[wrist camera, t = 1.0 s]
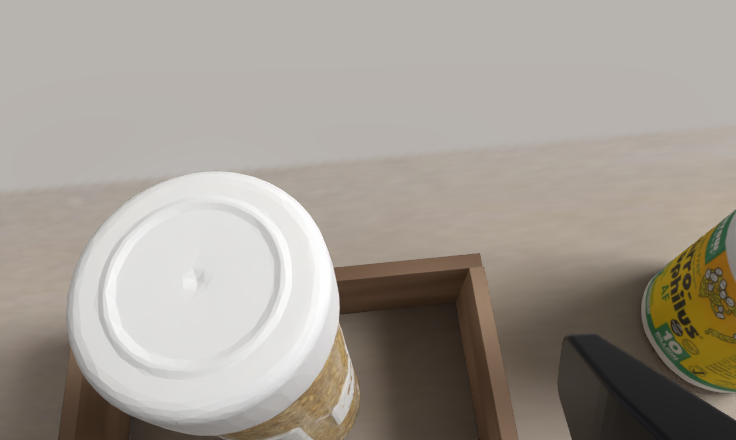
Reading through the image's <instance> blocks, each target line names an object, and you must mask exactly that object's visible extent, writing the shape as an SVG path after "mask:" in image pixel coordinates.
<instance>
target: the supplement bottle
mask: <svg viewBox="0 0 736 440" xmlns="http://www.w3.org/2000/svg"><path fill="white" fill-rule="evenodd" d="M641 316H642V323H643V327H644V331H645V334H646V336H647V338H648V339H649V341H650V343H651V345H652V346H653V348H654V349H655V351H656V352H657V354H658V355H659V357H660V358H661V359H662V361H663V362H664V363H665V364H666V365H667V366H668V367H669V368H670V369H671V370H672V371H673V372H675V373H676V374H677V375H678V376H680V377H681V378H682V379H684V380H685V381H687V382H689V383H691V384H693V385H696V386H698V387H701V388H703V389H706V390H710V391H715V392H721V393H736V210H735V211H733V212H732V213H731V214H730V215H729V216H727V217H726V218H725V219H724V220H723V221H722V222H720V223H719V224H718V225H716V226H715V227H714V228H713V229H711V230H710V231H709V232H707V233H706V234H705V235H704V236H702V237H701V238H699V239H698V240H697V241H696V242H695V243H694V244H692V245H691V246H690V247H689V248H687V249H686V250H685V251H683V252H682V253H681V254H680V255H679V256H677V257H676V258H675V259H674V260H672V261H671V262H670V263H668V264H667V265H666V266H665V267H664V268H663V269H661V270H660V271H659V272H658V273H657V274H656V275H655V276H654V277H653V278H652V279H651V280H650V281H649V283H648V285H647V287H646V289H645V291H644V295H643V298H642V304H641Z"/></svg>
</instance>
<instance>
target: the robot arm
mask: <svg viewBox="0 0 736 440" xmlns="http://www.w3.org/2000/svg"><path fill="white" fill-rule="evenodd" d="M558 392H559V397H560V400H561V404H562V407H563V411H564V414H565V417H566V421H567V424H568V428H569V431H570V434H571V438H572V440H736V420H734V419H733V418H731V417H730V416H728V415H726V414H725V413H723V412H721V411H720V410H718V409H717V408H715V407H713V406H712V405H710V404H709V403H707V402H705V401H704V400H702V399H700V398H699V397H697V396H696V395H694V394H692V393H691V392H689V391H688V390H686V389H684V388H683V387H681V386H679V385H678V384H676V383H675V382H673V381H671V380H670V379H668V378H667V377H665V376H663V375H662V374H660V373H658V372H657V371H655V370H654V369H652V368H650V367H649V366H647V365H646V364H644V363H642V362H641V361H639V360H637V359H636V358H634V357H633V356H631V355H629V354H628V353H626V352H625V351H623V350H621V349H620V348H618V347H616V346H615V345H613V344H612V343H610V342H608V341H607V340H605V339H604V338H602V337H600V336H599V335H597V334H594V333H581V334H568V335H567V336H566V337H565V338H564V340H563V343H562V350H561V358H560V366H559V374H558Z"/></svg>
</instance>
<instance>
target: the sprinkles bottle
mask: <svg viewBox="0 0 736 440" xmlns="http://www.w3.org/2000/svg"><path fill="white" fill-rule="evenodd" d="M339 308H340V306H339V293H338V287H337V282H336V277H335V273H334V268H333V264H332V261H331V258H330V255H329V252H328V249H327V247H326V244H325V242H324V239H323V237H322V234H321V232H320V230H319V228H318V227H317V225H316V224H315V222H314V221H313V219H312V218H311V216H310V215H309V213H308V212H307V211H306V210H305V209H304V208H303V207H302V206H301V205H300V204H299V203H298V202H297V201H296V200H295V199H294V198H292V197H291V196H289V195H288V194H287V193H285V192H284V191H283V190H281V189H280V188H278V187H276V186H274V185H272V184H270V183H268V182H266V181H263V180H261V179H258V178H255V177H252V176H248V175H244V174H238V173H232V172H201V173H193V174H187V175H183V176H179V177H176V178H172V179H169V180H167V181H164V182H162V183H159V184H157V185H155V186H152V187H150V188H148V189H146V190H144V191H143V192H141V193H139V194H137V195H136V196H134V197H133V198H131V199H130V200H128V201H127V202H126V203H124V204H123V205H122V206H120V207H119V208H118V209H117V210H116V211H115V212H114V213H113V214H112V215H111V216H110V217H109V218H108V219H107V220H105V221H104V223H103V224H102V225H101V226H100V228H99V229H98V230H97V231H96V232H95V234H94V235H93V237H92V238H91V240H90V241H89V242H88V244H87V245H86V247H85V249H84V251H83V252H82V254H81V256H80V259H79V261H78V263H77V265H76V268H75V270H74V273H73V276H72V279H71V283H70V287H69V292H68V299H67V311H66V322H67V332H68V337H69V342H70V345H71V348H72V351H73V354H74V357H75V359H76V362H77V365H78V367H79V368H80V370H81V372H82V373H83V375H84V376H85V378H86V379H87V381H88V382H89V383H90V384H91V386H92V387H93V388H94V389H95V390H96V391H97V392H98V393H99V394H100V395H101V396H102V397H103V398H104V399H105V400H107V401H108V402H109V403H110V404H112V405H113V406H115V407H116V408H118V409H120V410H121V411H123V412H124V413H127V414H129V415H131V416H133V417H135V418H138V419H140V420H143V421H145V422H147V423H150V424H153V425H156V426H159V427H162V428H165V429H169V430H172V431H176V432H180V433H185V434H189V435H197V436H218V437H220V438H223V439H225V440H343V439H344V438H345V437H346V435H347V434H348V432H349V431H350V429H351V428H352V426H353V424H354V421H355V418H356V416H357V412H358V409H359V405H360V389H359V381H358V378H357V375H356V372H355V369H354V366H353V365H352V362H351V359H350V356H349V353H348V350H347V347H346V343H345V340H344V336H343V333H342V329H341V327H340V324H339Z"/></svg>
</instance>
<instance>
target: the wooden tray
mask: <svg viewBox="0 0 736 440" xmlns="http://www.w3.org/2000/svg"><path fill="white" fill-rule="evenodd" d="M334 273H335V277H336V282H337V287H338V293H339V306H340V308H339V314H347V313H357V312H366V311H376V310H386V309H396V308H406V307H416V306H426V305H436V304H446V303H456V308H457V314H458V320H459V325H460V331H461V337H462V343H463V349H464V355H465V360H466V366H467V372H468V378H469V384H470V389H471V395H472V401H473V407H474V413H475V419H476V424H477V430H478V436H479V440H519V439H518V434H517V429H516V424H515V419H514V414H513V410H512V405H511V400H510V395H509V390H508V385H507V380H506V375H505V370H504V365H503V360H502V355H501V350H500V345H499V340H498V335H497V330H496V325H495V320H494V315H493V310H492V305H491V300H490V295H489V290H488V285H487V280H486V275H485V270H484V267H482V262H481V257H480V253H478V254H468V255H458V256H448V257H438V258H427V259H417V260H407V261H397V262H387V263H377V264H367V265H357V266H347V267H336V268H334ZM130 417H131V415H129V414H127V413H124V412H123V411H121V410H120V409H118V408H116V407H115V406H113V405H112V404H110V403H109V402H108V401H107V400H105V399H104V398H103V397H102V396H101V395H100V394H99V393H98V392H97V391H96V390H95V389H94V388H93V387H92V386H91V384H90V383H89V382H88V381H87V379H86V378H85V376H84V375H83V373H82V372H81V370H80V368H79V367H78V365H77V362H76V359H75V357H74V354H73V351H72V348H70V356H69V363H68V370H67V378H66V385H65V393H64V400H63V407H62V415H61V422H60V429H59V437H58V440H129V429H130Z"/></svg>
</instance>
